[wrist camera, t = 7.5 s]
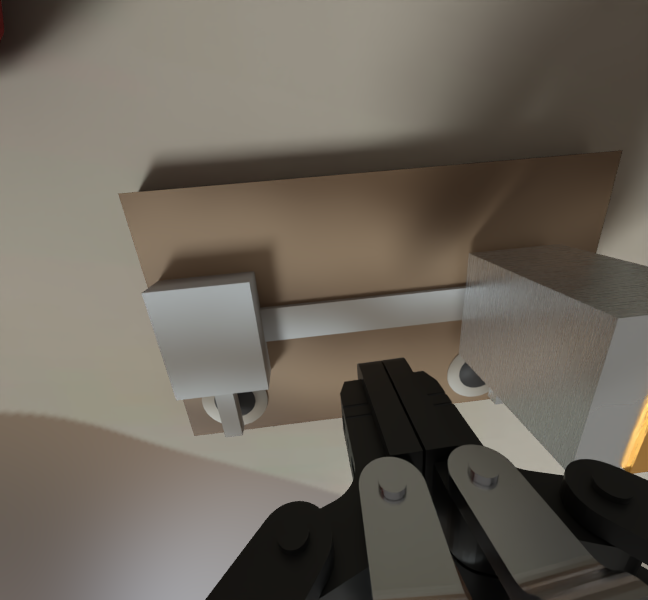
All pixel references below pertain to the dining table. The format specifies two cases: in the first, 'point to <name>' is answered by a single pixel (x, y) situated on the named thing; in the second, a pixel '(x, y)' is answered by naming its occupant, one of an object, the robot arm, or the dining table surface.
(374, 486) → the robot arm
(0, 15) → the apple
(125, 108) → the dining table surface
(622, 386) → the grey latch block
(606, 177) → the sliding latch plate
